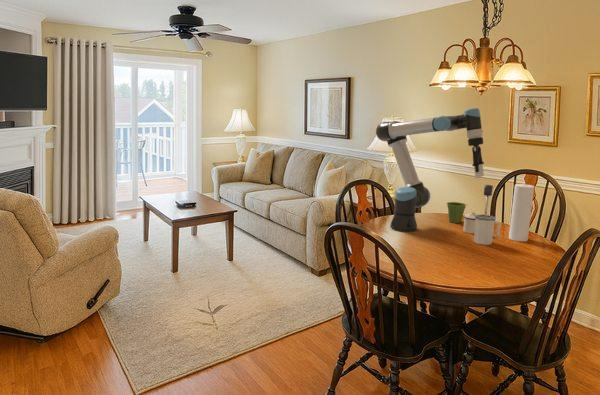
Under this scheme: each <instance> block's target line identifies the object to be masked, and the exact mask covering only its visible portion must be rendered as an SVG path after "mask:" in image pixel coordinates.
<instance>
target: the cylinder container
mask: <svg viewBox="0 0 600 395" xmlns="http://www.w3.org/2000/svg"><path fill="white" fill-rule="evenodd" d="M534 191H535V186H534V185H532V184H525V183H523V184H522V183H517V184H514V191H513V199H512V207H511V216H510V222H509V223H510V224H509V233H508V239H510V240H512V241H515V242H527V241H529V240H528V239H529V231H530V223H531V217H532V210H533V209H532V208H533V200H534Z"/></svg>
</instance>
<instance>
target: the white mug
mask: <svg viewBox="0 0 600 395" xmlns="http://www.w3.org/2000/svg"><path fill="white" fill-rule="evenodd" d="M484 216H485V214H477V215H476V216H475V218H476V223H475V233H474V234H473V236H474V237H473V243H476V244H478V245H484V246H486V245H487V246H488V245H492V244H493V238H494V237H495V238H499V237H500V230H501V221H496V216H493V215H490V214H487V217H486V218H484ZM495 224H496V225H497V231H496V234H494V229H495Z"/></svg>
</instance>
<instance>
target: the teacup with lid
mask: <svg viewBox="0 0 600 395" xmlns="http://www.w3.org/2000/svg"><path fill="white" fill-rule="evenodd" d="M476 215H478V214H477V213H475V211H471V212H470V213H468V214H465V215H463V228H462V230H463V232H464V233H466V234H471V235H474V233H475V223H476V218H475V216H476Z"/></svg>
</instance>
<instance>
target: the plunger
mask: <svg viewBox="0 0 600 395" xmlns="http://www.w3.org/2000/svg"><path fill="white" fill-rule="evenodd" d="M483 187H484V190H483V195H484V196H486V198H485V207H484V208H485V209H484V215H485V216H484V218H486V217H487V215H488V207H489V206H488V204H489V197H490V196H493V189H494V186H493V185H492V184H484V186H483Z"/></svg>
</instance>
